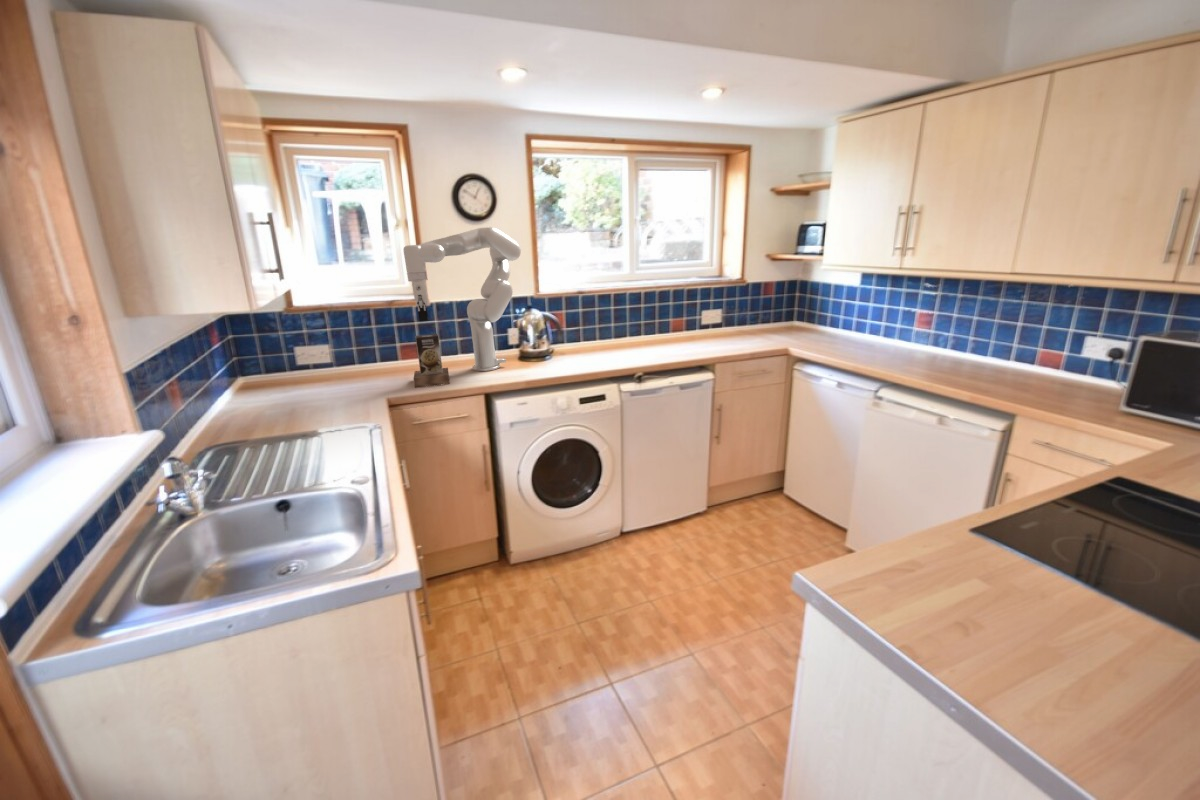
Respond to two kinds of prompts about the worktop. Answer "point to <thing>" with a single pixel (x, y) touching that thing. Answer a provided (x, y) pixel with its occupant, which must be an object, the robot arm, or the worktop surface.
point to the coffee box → (429, 354)
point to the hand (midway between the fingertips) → (423, 319)
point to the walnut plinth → (431, 379)
